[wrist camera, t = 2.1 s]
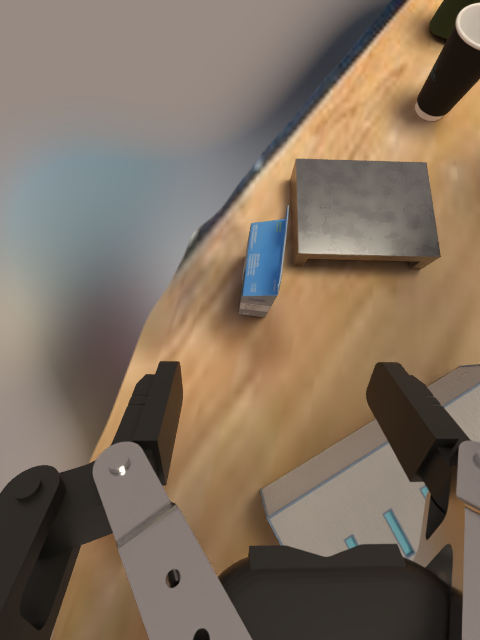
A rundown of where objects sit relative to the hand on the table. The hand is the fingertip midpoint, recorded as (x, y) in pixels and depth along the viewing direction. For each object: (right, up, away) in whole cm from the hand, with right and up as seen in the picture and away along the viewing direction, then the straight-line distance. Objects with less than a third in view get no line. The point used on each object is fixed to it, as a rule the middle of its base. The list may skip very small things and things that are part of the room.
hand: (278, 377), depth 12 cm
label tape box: (+1, +7, +27) cm, 28 cm away
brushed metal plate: (+15, +17, +29) cm, 37 cm away
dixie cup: (+29, +37, +34) cm, 58 cm away
